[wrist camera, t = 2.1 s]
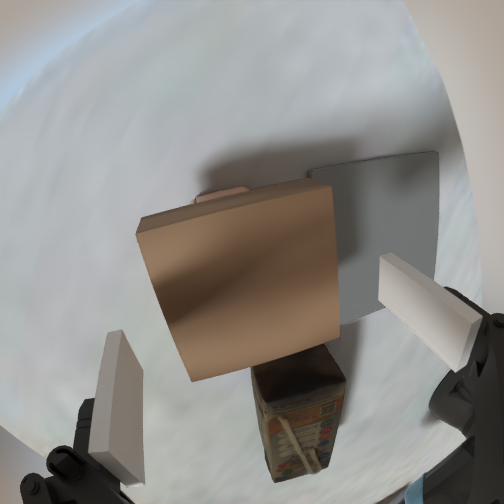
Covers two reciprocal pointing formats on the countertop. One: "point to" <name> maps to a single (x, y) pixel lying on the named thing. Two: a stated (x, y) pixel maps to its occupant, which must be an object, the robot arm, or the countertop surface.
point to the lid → (246, 275)
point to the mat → (381, 222)
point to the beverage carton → (298, 411)
